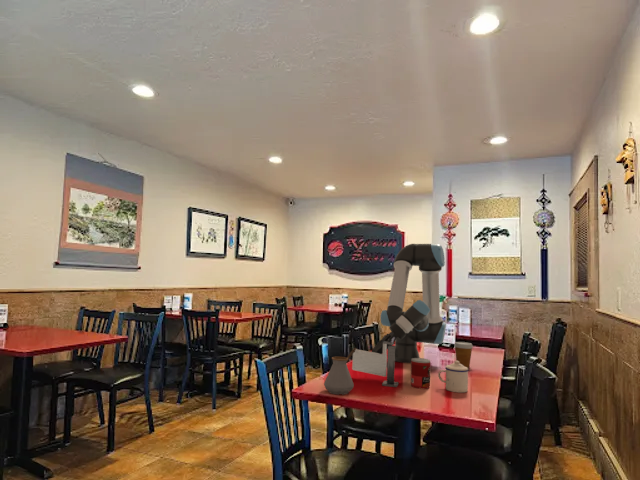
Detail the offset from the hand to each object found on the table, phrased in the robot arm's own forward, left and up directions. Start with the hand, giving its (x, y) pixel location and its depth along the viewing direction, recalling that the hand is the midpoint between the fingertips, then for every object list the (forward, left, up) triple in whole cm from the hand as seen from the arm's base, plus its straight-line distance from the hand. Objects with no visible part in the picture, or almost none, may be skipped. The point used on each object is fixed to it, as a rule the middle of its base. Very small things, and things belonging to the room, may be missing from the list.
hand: (363, 364), depth 197 cm
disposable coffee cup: (-51, +43, -6) cm, 67 cm away
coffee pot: (+24, -3, -6) cm, 25 cm away
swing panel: (+4, +5, -3) cm, 7 cm away
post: (+8, +13, -6) cm, 17 cm away
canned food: (+5, +25, -6) cm, 27 cm away
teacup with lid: (+4, +38, -6) cm, 39 cm away
